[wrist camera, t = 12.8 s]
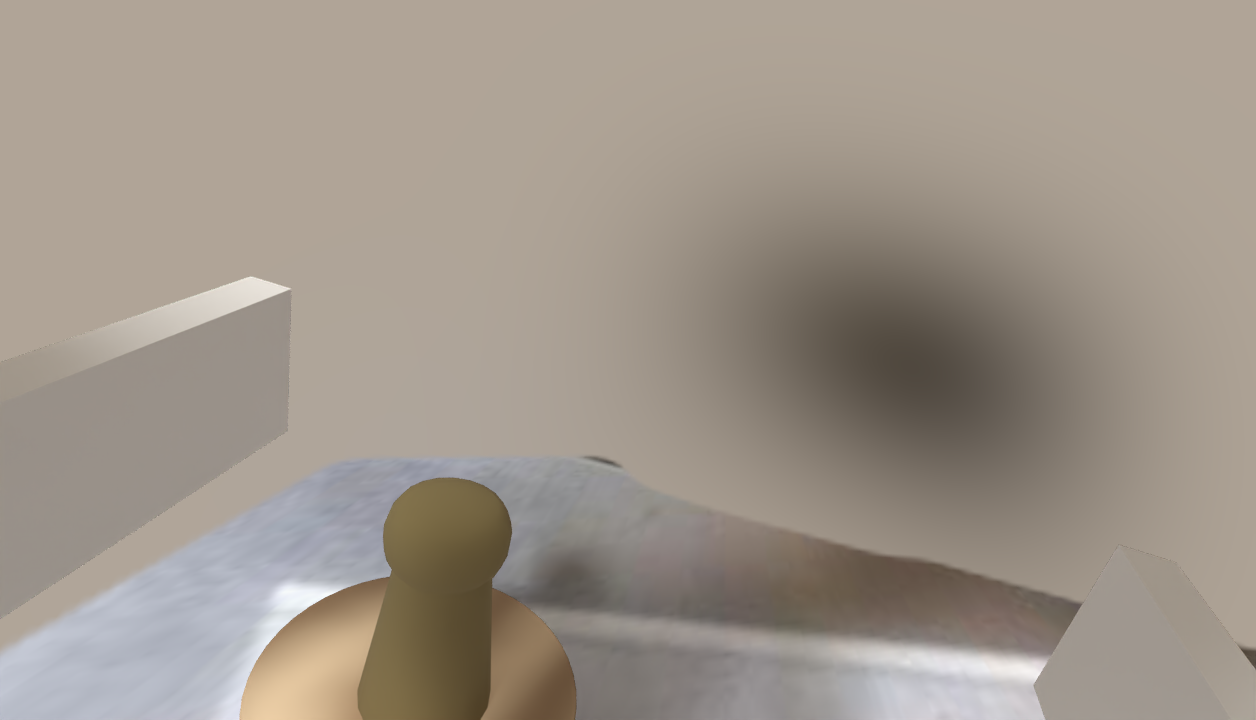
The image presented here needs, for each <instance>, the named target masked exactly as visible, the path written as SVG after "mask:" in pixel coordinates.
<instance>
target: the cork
mask: <svg viewBox="0 0 1256 720" xmlns="http://www.w3.org/2000/svg"><path fill="white" fill-rule="evenodd" d="M511 535H512V527H511V521H510V517H509V514H508V510H507V509H506V507H505V505H504V503H503V502H502V501H501V499H500V498H499V497H498V496H497V495H496V493H494V492H493V491H491V490H490V489H488V488H487V487H485V486H484V485H481V484H478V483H476V482H473V481H470V480H465V479H459V478H435V479H431V480H426V481H422V482H420V483H418V484H416V485H413V486H411V487H410V488H409V489H407V490H406V491H405V492H404V493H403V494H402V495H401V496H400V497H399V498H398V499H397V500H396V501H395V502H394V503H393V505H392V508H391V510H390V512H389V514H388V516H387V519H386V521H385V524H384V531H383V542H384V552H385V556H386V560H387V562H388V564H389V566H390V567H391V569H392V571H391V575H390V578H389V582H388V585H387V589H386V592H385V596H384V599H383V603H382V606H381V610H380V613H379V617H378V620H377V624H376V627H375V631H374V634H373V638H372V641H371V645H370V648H369V651H368V655H367V658H366V662H365V665H364V669H363V672H362V676H361V679H360V683H359V686H358V690H357V696H358V709H359V712H360V714H361V716H362V718H363V720H481V718H482V716H483V714H484V713H485V711H486V709H487V708H488V702H489V697H490V691H491V625H492V578H493V577H494V576H495V575H496V573H497V572H498V571H499V569H500V568H501V566H502V565H503V563H504V561H505V559H506V557H507V555H508V550H509V546H510V541H511Z"/></svg>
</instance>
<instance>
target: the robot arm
mask: <svg viewBox="0 0 1256 720" xmlns="http://www.w3.org/2000/svg"><path fill="white" fill-rule="evenodd" d="M290 322H291V289H290V288H287V287H284V286H280V285H278V284H274V283H271V282H268V281H265V280H261V279H258V278H255V277H252V276H251V277H248V278H245V279H242V280H239V281H236V282H233V283H230V284H227V285H224V286H221V287H218V288H216V289H213V290H210V291H207V292H204V293H201V294H198V295H195V296H192V297H189V298H186V299H183V300H181V301H177V302H174V303H172V304H169V305H166V306H163V307H160V308H157V309H154V310H151V311H148V312H146V313H142V314H139V315H136V316H134V317H131V318H128V319H125V320H122V321H119V322H116V323H113V324H110V325H107V326H104V327H101V328H99V329H96V330H93V331H90V332H87V333H84V334H81V335H78V336H75V337H72V338H69V339H66V340H63V341H61V342H57V343H55V344H52V345H49V346H46V347H43V348H40V349H37V350H34V351H32V352H28V353H25V354H22V355H19V356H17V357H14V358H11V359H8V360H5V361H2V362H0V619H1V618H3V617H4V616H6V615H7V614H9V613H10V612H12V611H13V610H15V609H17V608H18V607H19V606H21V605H23V604H24V603H26V602H27V601H29V600H30V599H32V598H33V597H35V596H36V595H38V594H39V593H41V592H42V591H44V590H46V589H47V588H49V587H50V586H52V585H53V584H55V583H56V582H58V581H59V580H61V579H62V578H64V577H65V576H67V575H68V574H70V573H72V572H73V571H75V570H76V569H78V568H79V567H80V566H82V565H84V564H85V563H87V562H88V561H90V560H91V559H93V558H94V557H96V556H97V555H99V554H100V553H102V552H103V551H105V550H107V549H108V548H110V547H111V546H113V545H114V544H116V543H117V542H119V541H120V540H122V539H123V538H125V537H126V536H128V535H129V534H131V533H133V532H134V531H136V530H137V529H139V528H140V527H142V526H143V525H145V524H146V523H148V522H149V521H151V520H152V519H154V518H155V517H157V516H159V515H160V514H162V513H163V512H165V511H166V510H168V509H169V508H171V507H172V506H174V505H175V504H177V503H178V502H180V501H181V500H183V499H184V498H186V497H187V496H189V495H191V494H192V493H194V492H195V491H197V490H198V489H200V488H201V487H203V486H204V485H206V484H207V483H209V482H210V481H212V480H213V479H215V478H217V477H218V476H220V475H221V474H223V473H224V472H226V471H227V470H229V469H230V468H232V467H233V466H235V465H236V464H238V463H239V462H241V461H242V460H244V459H246V458H247V457H249V456H250V455H251V454H253V453H255V452H256V451H258V450H259V449H261V448H262V447H264V446H265V445H267V444H268V443H270V442H271V441H273V440H275V439H276V438H277V437H279V436H281V435H282V434H284V433H285V432H287V430H288V394H289V358H290V324H291V323H290ZM1034 688H1035V691H1036V694H1037V697H1038V700H1039V703H1040V705H1041V708H1042V711H1043V714H1044V717H1045V720H1256V670H1255V668H1254V667H1253V666H1252V664H1251V663H1250V661H1249V660H1248V659H1247V657H1246V656H1245V655H1244V653H1243V652H1242V651H1241V649H1240V648H1239V647H1238V645H1237V644H1236V642H1235V641H1234V640H1233V638H1232V637H1231V636H1230V634H1229V633H1228V632H1227V630H1226V629H1225V628H1224V626H1223V625H1222V624H1221V622H1220V621H1219V619H1218V618H1217V617H1216V615H1215V614H1214V613H1213V611H1212V610H1211V609H1210V607H1209V606H1208V605H1207V603H1206V602H1205V601H1204V599H1203V598H1202V596H1201V595H1200V594H1199V592H1198V591H1197V590H1196V588H1195V587H1194V586H1193V584H1192V583H1191V582H1190V580H1189V579H1188V578H1187V576H1186V575H1185V574H1184V572H1183V571H1182V570H1181V568H1180V567H1179V565H1178V564H1177V563H1176V562H1174V561H1171V560H1167V559H1164V558H1161V557H1158V556H1154V555H1151V554H1148V553H1144V552H1141V551H1138V550H1135V549H1132V548H1128V547H1125V546H1122V545H1118V546H1117V548H1116V550H1115V551H1114V553H1113V555H1112V556H1111V558H1110V560H1109V561H1108V563H1107V564H1106V566H1105V568H1104V569H1103V571H1102V573H1101V574H1100V576H1099V578H1098V579H1097V581H1096V583H1095V584H1094V586H1093V588H1092V589H1091V591H1090V593H1089V594H1088V596H1087V598H1086V599H1085V601H1084V602H1083V604H1082V606H1081V607H1080V609H1079V611H1078V612H1077V614H1076V616H1075V617H1074V619H1073V621H1072V622H1071V624H1070V626H1069V627H1068V629H1067V631H1066V632H1065V634H1064V636H1063V637H1062V639H1061V641H1060V642H1059V644H1058V646H1057V647H1056V649H1055V650H1054V652H1053V654H1052V655H1051V657H1050V659H1049V660H1048V662H1047V664H1046V665H1045V667H1044V669H1043V670H1042V672H1041V674H1040V675H1039V677H1038V679H1037V680H1036V682H1035V684H1034Z"/></svg>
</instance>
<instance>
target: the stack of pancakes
mask: <svg viewBox="0 0 1256 720" xmlns="http://www.w3.org/2000/svg"><path fill="white" fill-rule="evenodd" d="M389 578H390V577H386V578H380V579H376V580H371V581H367V582H363V583H360V584H357V585H354V586H351V587H348V588H346V589H343V590H341V591H338V592H336V593H334V594H332V595H330V596H327V597H325V598H324V599H322V600H320V601H319V602H317V603H315V604H313V605H312V606H310V607H308V608H307V609H306V610H304V611H303V612H302V613H300V614H299V615H297V616H296V617H295V618H293V619H292V620H291V621H290V622H289V623H288V624H287V625H286V626H285V627H283V628H282V629H281V630H280V631H279V632H278V633H277V635H276V636H275V637H274V638H273V639H272V640H271V641H270V643H269V644H268V645H267V646H266V648H265V649H264V651H263V652H262V654H261V655H260V657H259V658H258V660H257V661H256V663H255V665H254V667H253V669H252V671H251V673H250V676H249V678H248V680H247V683H246V687H245V690H244V693H243V696H242V702H241V710H240V720H363V718H362V716H361V714H360V712H359V709H358V696H357V690H358V686H359V683H360V679H361V676H362V672H363V669H364V665H365V662H366V658H367V655H368V651H369V648H370V645H371V641H372V638H373V634H374V631H375V627H376V624H377V620H378V617H379V613H380V610H381V606H382V603H383V599H384V596H385V592H386V589H387V585H388V582H389ZM575 715H576V687H575V681H574V675H573V672H572V669H571V666H570V663H569V660H568V657H567V655H566V653H565V651H564V649H563V647H562V645H561V644H560V642H559V641H558V639H557V638H556V636H555V635H554V633H553V632H552V631H551V630H550V629H549V627H548V626H547V625H546V624H545V623H544V622H543V621H542V620H541V619H540V618H539V617H538V616H537V615H536V614H535V613H533V612H532V611H531V610H530V609H529V608H527V607H526V606H524V605H523V604H522V603H520V602H519V601H517V600H516V599H514V598H512V597H510V596H508V595H506V594H505V593H503V592H501V591H498V590H496V589H494V588H492V625H491V691H490V697H489V702H488V708H487V709H486V711H485V713H484V714H483V716H482V718H481V720H575Z"/></svg>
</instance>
